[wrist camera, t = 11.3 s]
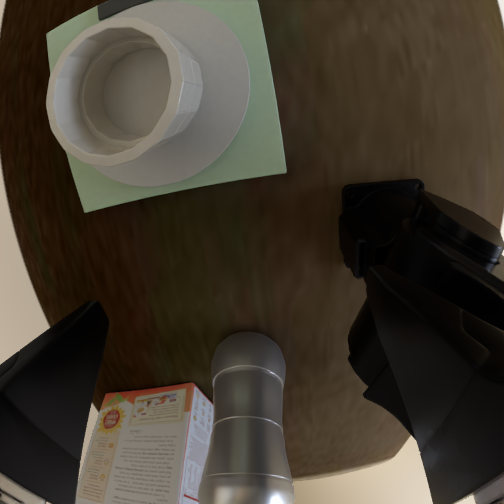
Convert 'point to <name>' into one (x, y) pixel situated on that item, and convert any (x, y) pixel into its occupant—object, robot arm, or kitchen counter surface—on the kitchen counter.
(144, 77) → the bowl
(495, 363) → the robot arm
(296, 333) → the kitchen counter surface
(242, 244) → the kitchen counter surface
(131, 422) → the cracker box
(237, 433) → the silver metal bottle
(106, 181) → the scale
